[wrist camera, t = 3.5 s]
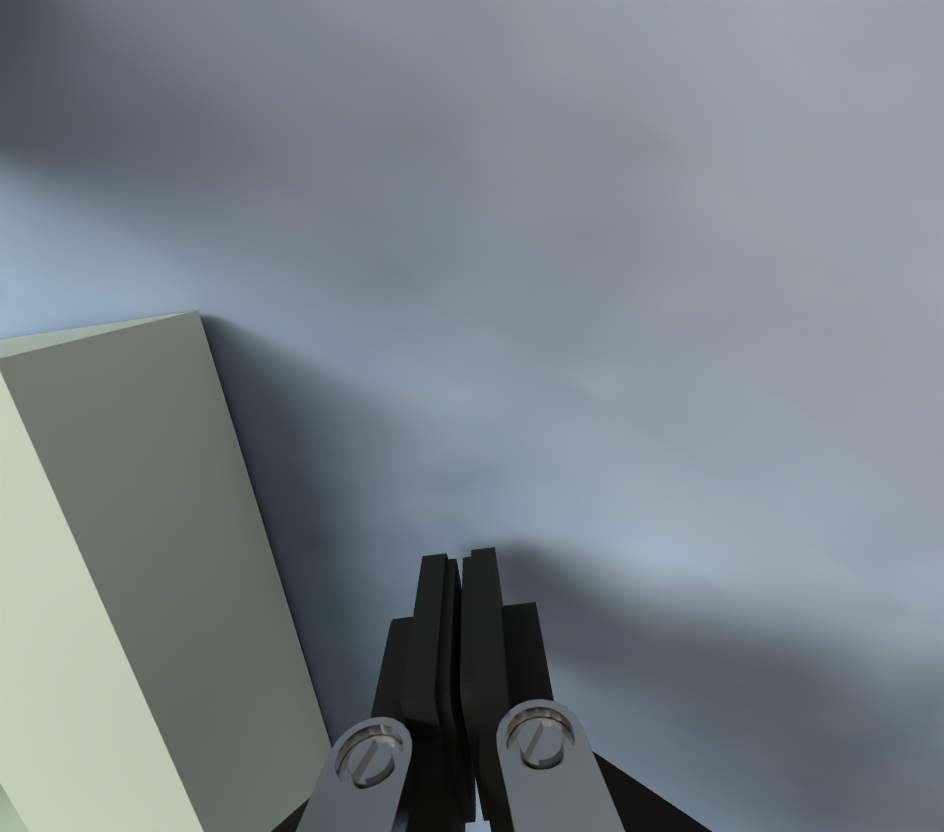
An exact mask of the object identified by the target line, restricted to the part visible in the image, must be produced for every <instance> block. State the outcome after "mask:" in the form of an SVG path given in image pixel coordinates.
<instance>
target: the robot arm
mask: <svg viewBox="0 0 944 832" xmlns="http://www.w3.org/2000/svg"><path fill="white" fill-rule="evenodd" d="M475 777H476V782H477V788H478V793H479V798H480V803H481V809H482V814H483V819H484V821H488V820H489V821H490V827H491V832H712V831H710V830H709V829H707V828H706V827H704V826H703V825H701V824H700V823H698V822H697V821H695V820H694V819H692V818H691V817H690V816H688V815H687V814H685V813H684V812H682V811H681V810H679V809H678V808H676V807H675V806H673V805H672V804H670V803H669V802H667V801H666V800H664V799H663V798H661V797H660V796H658V795H657V794H655V793H654V792H652V791H651V790H649V789H648V788H647V787H645V786H644V785H642V784H641V783H639V782H638V781H636V780H635V779H633V778H632V777H630V776H629V775H627V774H626V773H624V772H623V771H621V770H620V769H618V768H617V767H615V766H614V765H612V764H611V763H609V762H608V761H606V760H605V759H604V758H602V757H601V756H599V755H598V754H596V753H595V752H593V751H592V749H591V747H590V744H589V742H588V739H587V737H586V734H585V732H584V730H583V727H582V725H581V723H580V722H579V720H578V719H577V717H576V715H575V714H574V713H573V712H571V711H570V710H569V709H568V708H567V707H566V706H563V705H561V704H559V703H557V702H555V701H554V700H553V695H552V689H551V684H550V678H549V673H548V667H547V662H546V656H545V651H544V645H543V640H542V634H541V629H540V623H539V618H538V613H537V607H536V603H535V602H533V603H524V604H516V605H507V606H503V600H502V593H501V587H500V580H499V573H498V566H497V559H496V553H495V547H493V548H485V549H477V550H472V551H471V557H465V558H463V571H462V587H461V581H460V576H459V570H458V564H457V560H456V559H449V560H448V556H447V554H446V553H445V554H437V555H429V556H423V557H422V562H421V569H420V575H419V582H418V588H417V595H416V601H415V608H414V614H413V617H407V618H399V619H393V620H392V621H391V625H390V628H389V633H388V638H387V643H386V647H385V652H384V657H383V662H382V666H381V671H380V676H379V681H378V686H377V690H376V695H375V700H374V705H373V709H372V714H371V718H370V719H367V720H364V721H362V722H359V723H357V724H356V725H354V726H353V727H351V728H350V729H348V730H347V731H345V732H344V734H343V735H342V736H341V737H340V738H339V739H338V740H337V741H336V742H335V744H334V746H333V747H332V749H331V751H330V753H329V755H328V757H327V759H326V762H325V764H324V766H323V769H322V771H321V773H320V776H319V778H318V780H317V783H316V785H315V787H314V790H313V792H312V794H311V797H310V798H308V799H307V800H306V801H305V802H304V803H303V804H302V805H301V806H299V807H298V808H297V809H296V810H295V811H294V812H293V813H291V814H290V815H289V816H288V817H287V818H286V819H285V820H283V821H282V822H281V823H280V824H279V825H278V826H277V827H276V828H274V829H273V830H272V831H271V832H465V823H468V822H475V818H476V795H475Z"/></svg>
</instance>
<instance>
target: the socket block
mask: <svg viewBox="0 0 944 832" xmlns="http://www.w3.org/2000/svg"><path fill="white" fill-rule="evenodd" d="M331 749H332V748H331V744H330V741H329V738H328V734H327V731H326V728H325V725H324V721H323V718H322V715H321V711H320V708H319V705H318V702H317V698H316V695H315V692H314V689H313V685H312V682H311V679H310V675H309V672H308V669H307V666H306V662H305V659H304V656H303V653H302V649H301V646H300V643H299V639H298V636H297V633H296V630H295V626H294V623H293V620H292V616H291V613H290V610H289V607H288V603H287V600H286V597H285V594H284V590H283V587H282V584H281V580H280V577H279V574H278V571H277V567H276V564H275V561H274V558H273V554H272V551H271V548H270V544H269V541H268V538H267V535H266V531H265V528H264V525H263V521H262V518H261V515H260V512H259V508H258V505H257V502H256V499H255V495H254V492H253V489H252V485H251V482H250V479H249V476H248V472H247V469H246V466H245V463H244V459H243V456H242V453H241V449H240V446H239V443H238V440H237V436H236V433H235V430H234V426H233V423H232V420H231V417H230V413H229V410H228V407H227V404H226V400H225V397H224V394H223V390H222V387H221V384H220V381H219V377H218V374H217V371H216V368H215V364H214V361H213V358H212V354H211V351H210V348H209V345H208V341H207V338H206V335H205V331H204V328H203V325H202V322H201V318H200V315H199V312H198V310H197V311H190V312H183V313H176V314H170V315H163V316H156V317H149V318H142V319H135V320H129V321H122V322H115V323H108V324H101V325H94V326H88V327H81V328H74V329H67V330H60V331H53V332H47V333H40V334H33V335H26V336H19V337H12V338H5V339H0V832H271V831H272V830H273V829H274V828H276V827H277V826H278V825H279V824H280V823H281V822H282V821H283V820H285V819H286V818H287V817H288V816H289V815H290V814H291V813H293V812H294V811H295V810H296V809H297V808H298V807H299V806H301V805H302V804H303V803H304V802H305V801H306V800H307V799H308V798H310V797H311V794H312V792H313V790H314V787H315V785H316V783H317V780H318V778H319V776H320V773H321V771H322V769H323V766H324V764H325V762H326V759H327V757H328V755H329V753H330V751H331Z"/></svg>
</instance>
